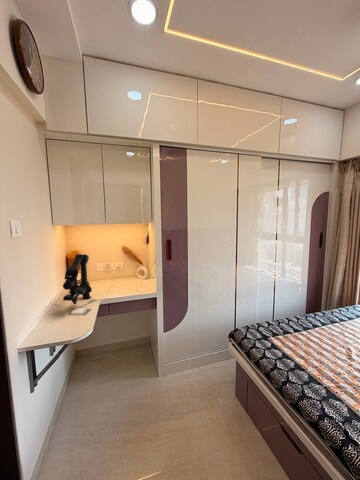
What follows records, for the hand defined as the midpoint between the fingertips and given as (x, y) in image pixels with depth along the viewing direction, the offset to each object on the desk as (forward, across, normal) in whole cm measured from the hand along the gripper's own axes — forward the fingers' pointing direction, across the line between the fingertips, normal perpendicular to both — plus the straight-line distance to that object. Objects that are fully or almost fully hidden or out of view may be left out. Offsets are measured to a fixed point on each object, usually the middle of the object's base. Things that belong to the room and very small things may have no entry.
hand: (75, 304), depth 157 cm
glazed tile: (+4, +1, -4) cm, 6 cm away
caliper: (+5, +11, 0) cm, 12 cm away
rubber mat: (+6, -2, -4) cm, 7 cm away
